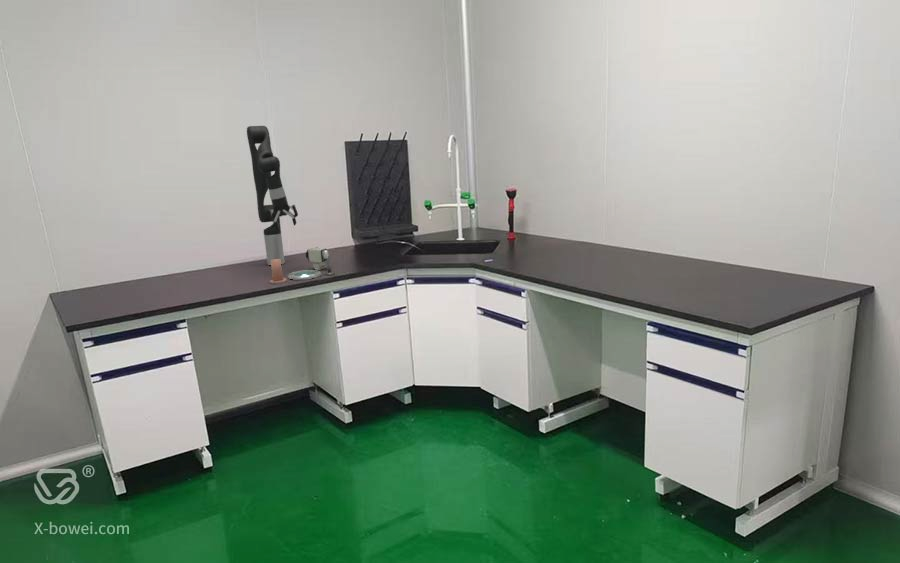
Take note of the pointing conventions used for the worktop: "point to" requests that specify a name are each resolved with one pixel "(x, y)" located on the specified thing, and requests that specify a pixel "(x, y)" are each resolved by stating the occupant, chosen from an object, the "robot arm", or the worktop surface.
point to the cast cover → (277, 271)
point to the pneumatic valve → (316, 257)
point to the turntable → (304, 274)
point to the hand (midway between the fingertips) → (286, 226)
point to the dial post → (327, 256)
